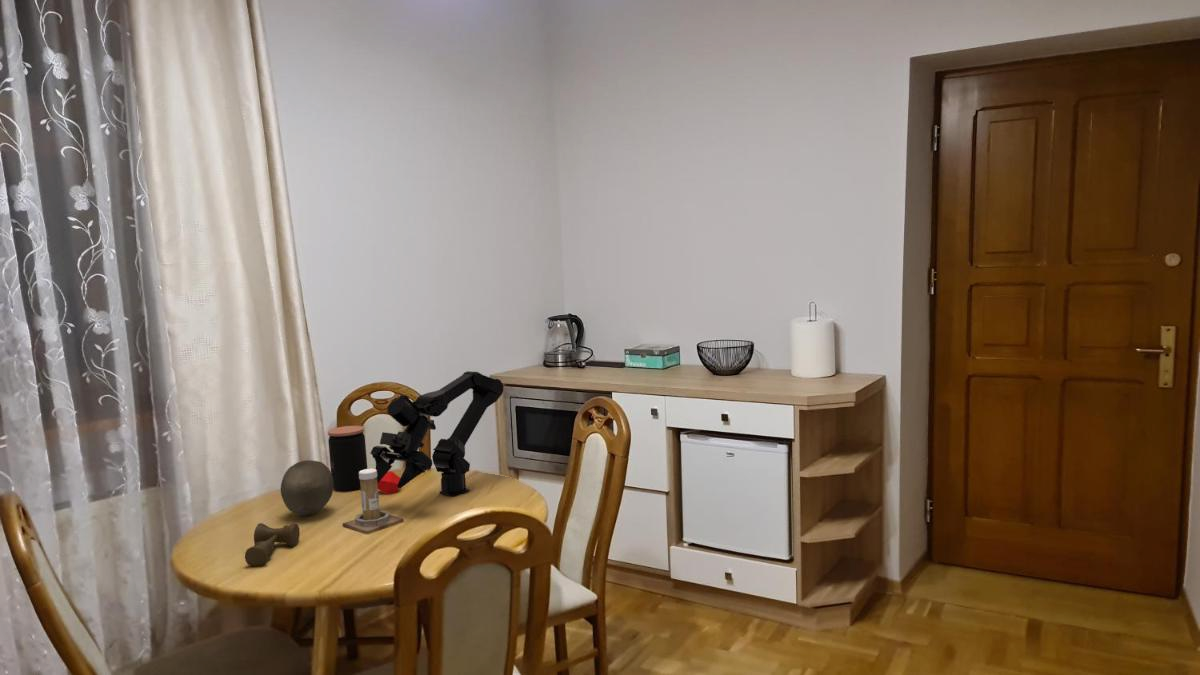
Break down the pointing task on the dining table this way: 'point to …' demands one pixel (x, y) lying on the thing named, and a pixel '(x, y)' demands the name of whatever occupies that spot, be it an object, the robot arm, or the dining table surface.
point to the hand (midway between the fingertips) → (386, 485)
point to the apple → (389, 483)
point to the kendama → (270, 542)
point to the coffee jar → (347, 457)
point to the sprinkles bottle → (369, 494)
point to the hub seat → (372, 523)
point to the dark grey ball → (307, 487)
